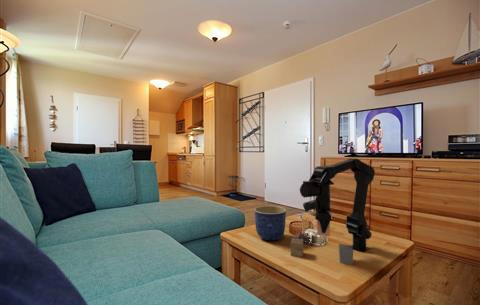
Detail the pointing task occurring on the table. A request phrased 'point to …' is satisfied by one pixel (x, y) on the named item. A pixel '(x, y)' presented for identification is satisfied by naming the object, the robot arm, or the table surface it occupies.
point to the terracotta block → (319, 230)
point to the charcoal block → (346, 254)
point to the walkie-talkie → (303, 237)
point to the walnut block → (297, 247)
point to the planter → (270, 222)
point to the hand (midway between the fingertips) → (323, 230)
